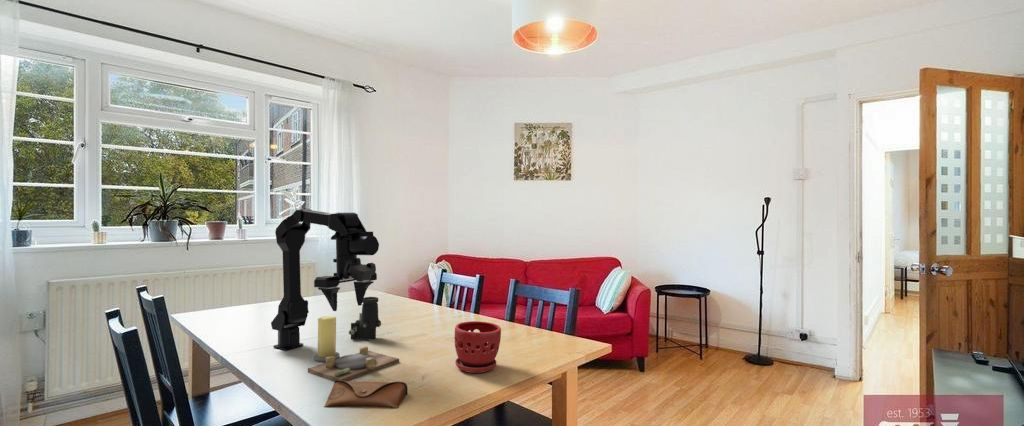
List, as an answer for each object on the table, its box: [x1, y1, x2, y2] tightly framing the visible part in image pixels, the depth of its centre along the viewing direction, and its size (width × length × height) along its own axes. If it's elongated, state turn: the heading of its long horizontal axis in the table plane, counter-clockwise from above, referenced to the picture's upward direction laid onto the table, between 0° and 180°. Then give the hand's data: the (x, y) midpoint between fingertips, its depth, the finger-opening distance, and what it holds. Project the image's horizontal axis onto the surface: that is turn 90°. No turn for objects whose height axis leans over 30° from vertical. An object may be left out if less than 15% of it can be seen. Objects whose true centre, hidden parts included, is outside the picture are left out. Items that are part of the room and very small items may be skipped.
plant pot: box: [454, 320, 502, 374], centre depth 131 cm, size 13×13×12 cm
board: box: [307, 346, 400, 382], centre depth 130 cm, size 15×20×4 cm
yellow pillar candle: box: [313, 315, 340, 363], centre depth 138 cm, size 7×7×12 cm
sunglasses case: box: [322, 380, 409, 409], centre depth 108 cm, size 18×7×7 cm, turn 91°
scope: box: [348, 296, 382, 341], centre depth 160 cm, size 8×14×10 cm
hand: (347, 308), depth 136 cm, fingers open, 9 cm apart
